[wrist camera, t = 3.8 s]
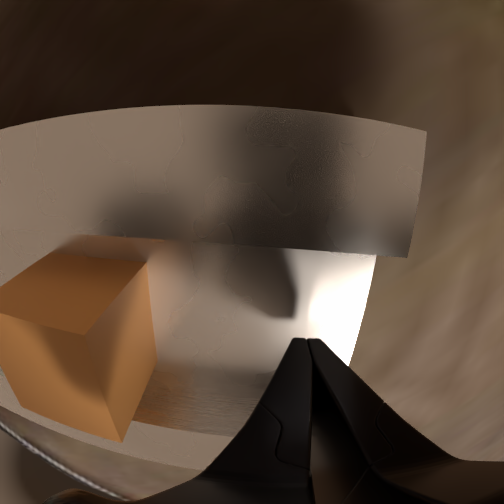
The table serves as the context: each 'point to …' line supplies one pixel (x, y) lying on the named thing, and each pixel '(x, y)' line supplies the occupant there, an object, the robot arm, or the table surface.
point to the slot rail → (213, 243)
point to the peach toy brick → (79, 340)
